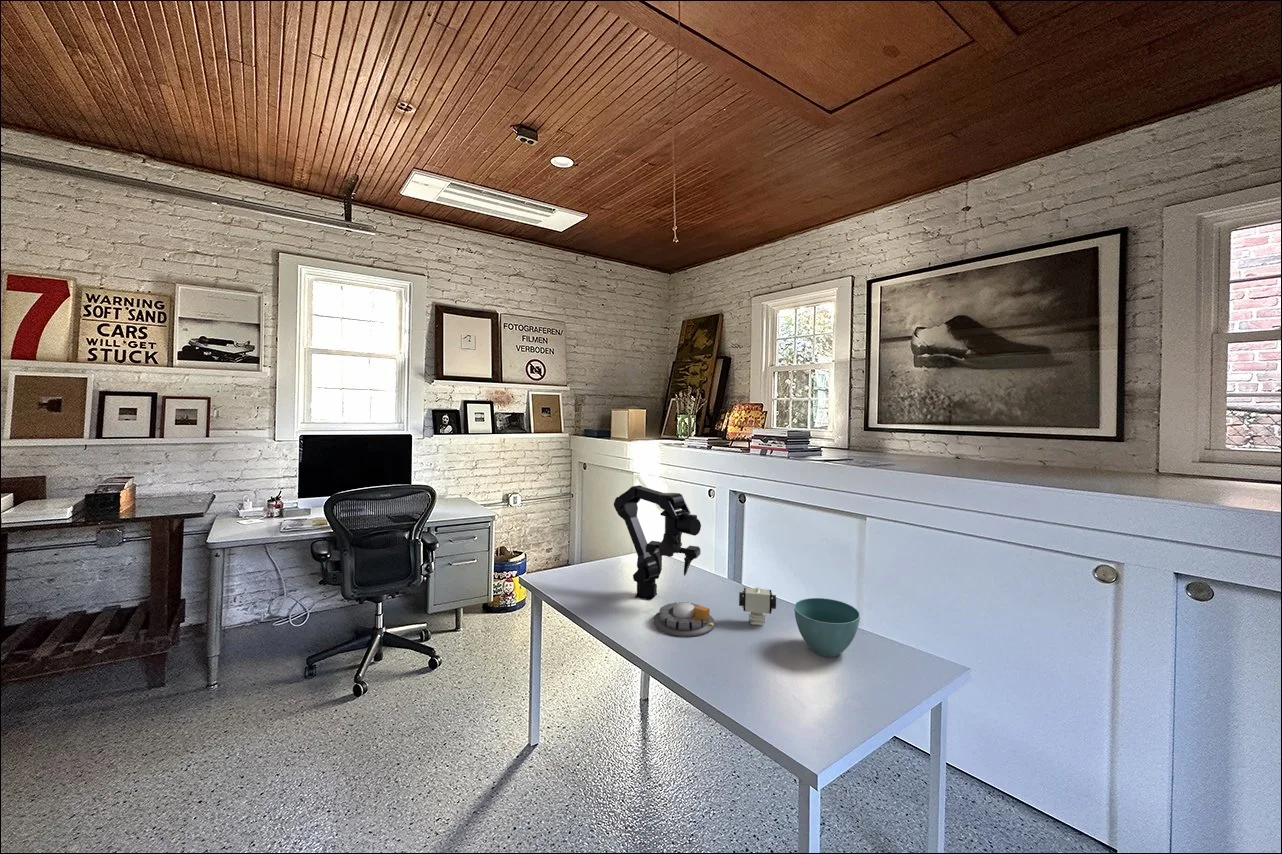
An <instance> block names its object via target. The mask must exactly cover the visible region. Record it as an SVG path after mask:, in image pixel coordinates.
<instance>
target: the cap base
mask: <svg viewBox="0 0 1282 854" xmlns="http://www.w3.org/2000/svg"><path fill="white" fill-rule="evenodd" d="M675 603H676V604H674V606H673V614H672V615H671V616H673V617H676V618H680V619H690V618H695V617H694V605H692V604H690V602H685V603H679V602H675ZM652 618H653V620H652V623H653V626H654V628H655V629H656V630H658V631H659V632H660V633H662V634H665V635H669V636H671V637H677V638H695V637H696V638H697V637H702V636H705V635H708V634H709V633H710V632H712V631H713V630H714V629H715V619H714V618H713V617H712V615H710V616H709V623H708V624H707V625H706V626H704V627H701V628H700V629H696V630H691V629H690V631H689V630H678V629H676V630H675V629H672V628H669V627H667V626H664V625H663V624H662V623H661V622H660V621H659V612H657V613H656V614H655V615H653V617H652Z"/></svg>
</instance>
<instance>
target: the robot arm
mask: <svg viewBox="0 0 1282 854" xmlns="http://www.w3.org/2000/svg"><path fill="white" fill-rule="evenodd" d="M641 500H643V501H647V502H649V503H653V504H656V505H658V507H659V508H660V509H662V510H663V511H661V512H660V516H662V517H664V533H663V535H662V536H663V539H662V540H661V541H658V540H651V541H649V542H648V541H647V539H646V536H645V533H644V531H643V529H642V525H641V523H640V521H639V518H638V510H639V509H638V508H639V507H638V503H639V502H640V501H641ZM613 506H614V509H615V511H616V514H617V515H618V516H619V517H620V518H622V520H624V523H625V526H626V528H627V531H628V533H629V537H630V539H631V541H632V544H633V547H634V550H635V552H636V555H637V561H636V568H637V570H636V571H635V572H634V573H633V575H632V579H633V581H634V582H636V594H635V596H634V598H635V599H636V598H637V599H642V600H647V601H651V600H653V599H654V598H655V597H656V596H657V595H658V593H657V591H658V590H657V589H658V586H657V583H656V580H658V579H659V578H660V575H661V573H662V570H663V557H664V556H665V557H668V558H669V557H670V558H672V557H673V556H674V554H684V556H685V557H684V558H683V559H684V564H683V565H684V566H683V576H686V575H687V573H688V571H689V567H690V565H691V564H692V561H694V559H695V560H696V559H697V558H698V557H700V555H701V548H700V546H696V545H689V546H687V547H683V543H682V535H683V533H684V534H686V535H690V536H694V537H695V536H697V535H699V534H700V531H701V529H702V528H701V527H702V523H701V522H700V520H699V518H698V515H697V514H691V511H690V509H689V506H688V504H687V503H686V501H685V499H684V497H683V494H682V493H678V492H662V491H658V490H655V489H652V488H649V487H645V486H643V485H640V484H639V485H634V486H630V487H629V489H627V491H625V492H623V493H622V494H620V495H619V496H617V497H616V498H615V499H614V502H613Z"/></svg>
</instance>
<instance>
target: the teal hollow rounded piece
mask: <svg viewBox="0 0 1282 854" xmlns="http://www.w3.org/2000/svg"><path fill="white" fill-rule="evenodd" d="M793 607H794V608H793V609H794V616H795V617H794V618H795V621H796V625H797V628H798V631H799V633H800V635H801V638H802V639H803V641H804V642H805V643H806V645H807V646H808V647H809V649H810V650H811V651H812V652H813V653H814V654H816V655H818V656H823V657H828V658H830V657H831V658H832V657H837V656H839V655H841V654H842V653H844V651H845V650H847V648H848V647H850V645H851V643H852V642H853V640H854V639H855V637H856V635H857V632H858V629H859V625H860V619H861V618H860V617H861V614H860V611H859V610H858V609H857V608H855V607H854V606H852V604H849V603H846V602H844V601H841V600H836V599H831V598H825V597H809V598H804V599H801V600H797V601H796V603H794V606H793Z"/></svg>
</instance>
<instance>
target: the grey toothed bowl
mask: <svg viewBox="0 0 1282 854" xmlns="http://www.w3.org/2000/svg"><path fill="white" fill-rule="evenodd" d="M676 603H677V602H671V603H667V604H665V605H663V606H661V607H660V608H659V612H658V613H659V621H660V622H661V623H662V624H663V625H664V626H667V627H669V628H672V629H675V630H676V629H678V630H689V631H690V629H691V630H696V629H700V628H701V627H704V626H706V625H707V624H708V623H709V616H711V615H710V613H711V612H710V610H711V609H710V608H709V607H706V606H703V605H700V604H696V603H692V602H691V603H690V602H689V603H690V604H692V605H694V617H695V618H690V619H680V618H676V617H673V616H671V615H672V614H673V606H674V604H676ZM678 603H686V602H678Z"/></svg>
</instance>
